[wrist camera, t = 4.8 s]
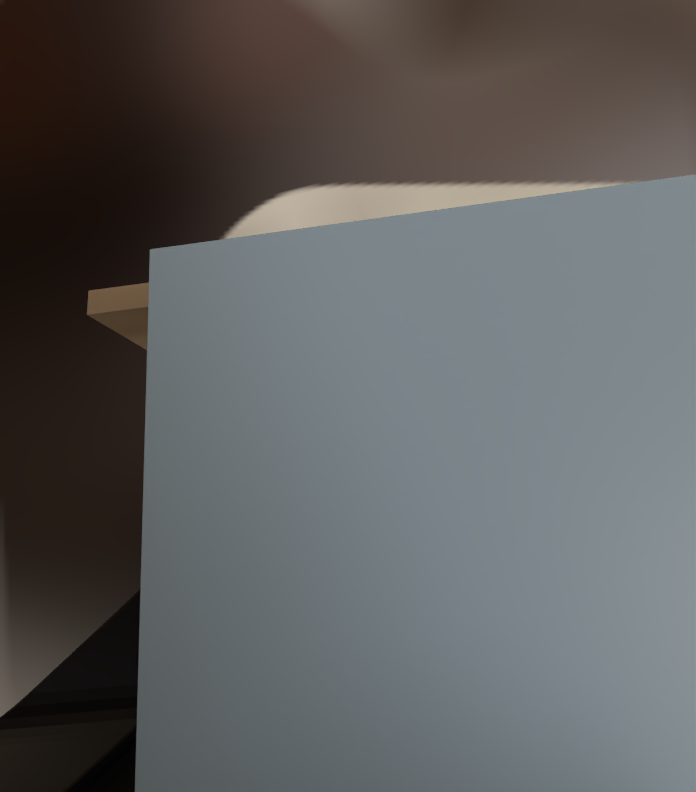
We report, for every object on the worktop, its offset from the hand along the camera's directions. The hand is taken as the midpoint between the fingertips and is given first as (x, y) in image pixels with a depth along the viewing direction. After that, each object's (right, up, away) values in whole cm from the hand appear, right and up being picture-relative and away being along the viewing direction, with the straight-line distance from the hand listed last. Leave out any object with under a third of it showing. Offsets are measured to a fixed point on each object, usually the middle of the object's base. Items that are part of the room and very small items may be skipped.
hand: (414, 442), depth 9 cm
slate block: (+1, -3, +6) cm, 6 cm away
